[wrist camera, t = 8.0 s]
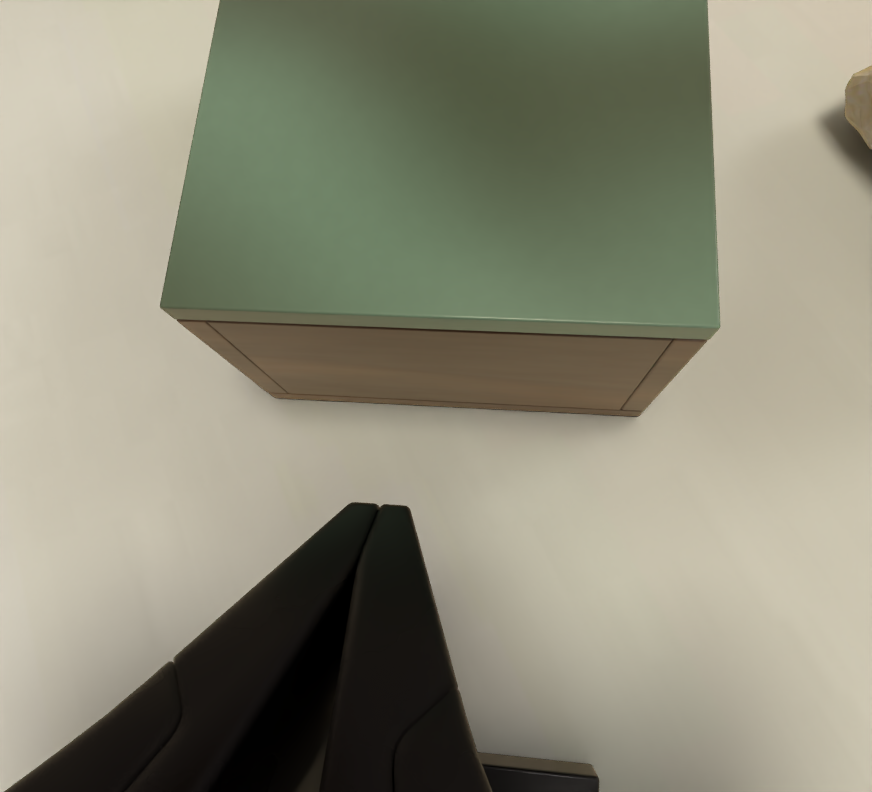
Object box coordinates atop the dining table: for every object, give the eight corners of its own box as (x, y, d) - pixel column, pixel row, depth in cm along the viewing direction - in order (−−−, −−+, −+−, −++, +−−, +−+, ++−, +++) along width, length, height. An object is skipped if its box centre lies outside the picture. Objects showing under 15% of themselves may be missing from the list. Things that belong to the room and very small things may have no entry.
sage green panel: (265, -160, 18) (256, -189, 17) (691, -178, 17) (700, -210, 16) (174, 319, 14) (158, 307, 14) (709, 340, 13) (721, 328, 13)
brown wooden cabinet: (323, 50, 24) (261, -138, 18) (637, 48, 23) (692, -154, 17) (273, 398, 21) (175, 320, 15) (640, 417, 20) (708, 341, 13)
